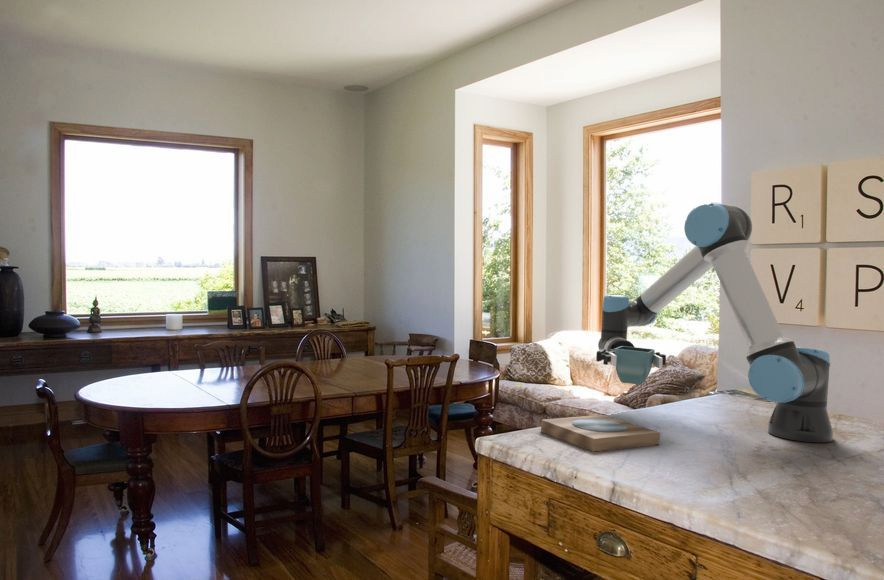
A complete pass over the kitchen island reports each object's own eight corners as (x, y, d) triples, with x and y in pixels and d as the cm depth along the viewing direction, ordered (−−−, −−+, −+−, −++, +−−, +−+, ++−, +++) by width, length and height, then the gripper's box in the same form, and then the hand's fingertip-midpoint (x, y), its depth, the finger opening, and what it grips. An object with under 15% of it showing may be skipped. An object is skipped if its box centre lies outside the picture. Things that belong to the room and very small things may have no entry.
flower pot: (653, 382, 182) (655, 348, 182) (647, 387, 174) (649, 351, 174) (619, 379, 186) (621, 345, 186) (612, 383, 178) (614, 348, 178)
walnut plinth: (658, 444, 166) (659, 431, 166) (593, 452, 156) (594, 438, 156) (602, 425, 183) (603, 413, 183) (540, 431, 174) (541, 418, 174)
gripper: (660, 366, 198) (683, 379, 176) (578, 362, 199) (590, 374, 177) (662, 340, 197) (685, 349, 175) (579, 336, 198) (592, 345, 176)
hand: (637, 362), depth 176 cm, fingers closed on flower pot, 11 cm apart
